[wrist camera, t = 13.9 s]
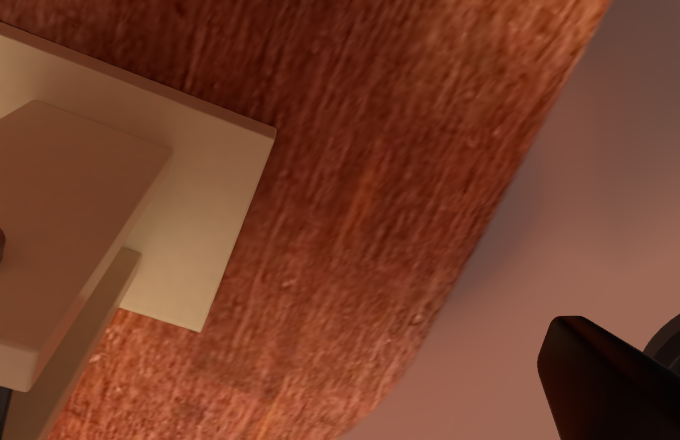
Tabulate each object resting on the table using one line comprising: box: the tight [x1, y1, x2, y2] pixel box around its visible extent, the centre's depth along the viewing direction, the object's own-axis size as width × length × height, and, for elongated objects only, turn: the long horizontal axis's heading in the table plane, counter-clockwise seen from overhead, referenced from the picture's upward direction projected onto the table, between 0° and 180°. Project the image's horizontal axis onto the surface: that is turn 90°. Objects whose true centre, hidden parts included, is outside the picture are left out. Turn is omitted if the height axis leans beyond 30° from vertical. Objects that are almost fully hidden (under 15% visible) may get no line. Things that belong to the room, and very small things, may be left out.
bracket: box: [0, 22, 277, 440], centre depth 16 cm, size 10×8×11 cm
